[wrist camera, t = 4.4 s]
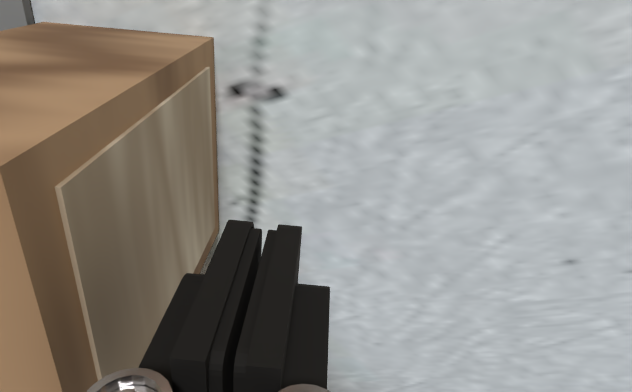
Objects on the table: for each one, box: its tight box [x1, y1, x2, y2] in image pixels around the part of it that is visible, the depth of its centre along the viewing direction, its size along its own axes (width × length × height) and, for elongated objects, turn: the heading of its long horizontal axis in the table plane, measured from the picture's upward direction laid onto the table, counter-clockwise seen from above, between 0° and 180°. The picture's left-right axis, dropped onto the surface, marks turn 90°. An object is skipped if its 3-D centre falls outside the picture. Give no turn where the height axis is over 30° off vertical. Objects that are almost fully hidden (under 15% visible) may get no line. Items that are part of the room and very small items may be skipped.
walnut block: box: [0, 22, 219, 392], centre depth 13 cm, size 6×8×11 cm
